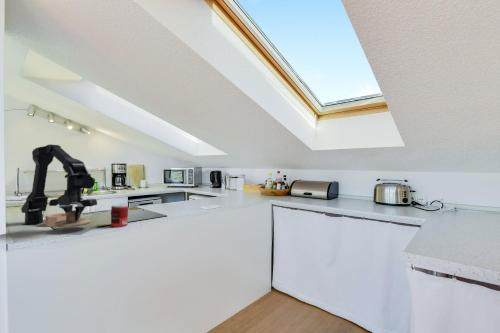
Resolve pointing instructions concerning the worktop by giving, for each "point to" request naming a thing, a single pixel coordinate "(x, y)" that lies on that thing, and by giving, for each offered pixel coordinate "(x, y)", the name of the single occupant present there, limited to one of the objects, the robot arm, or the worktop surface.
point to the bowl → (54, 219)
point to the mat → (71, 230)
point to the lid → (72, 220)
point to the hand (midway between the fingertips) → (73, 220)
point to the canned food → (119, 215)
